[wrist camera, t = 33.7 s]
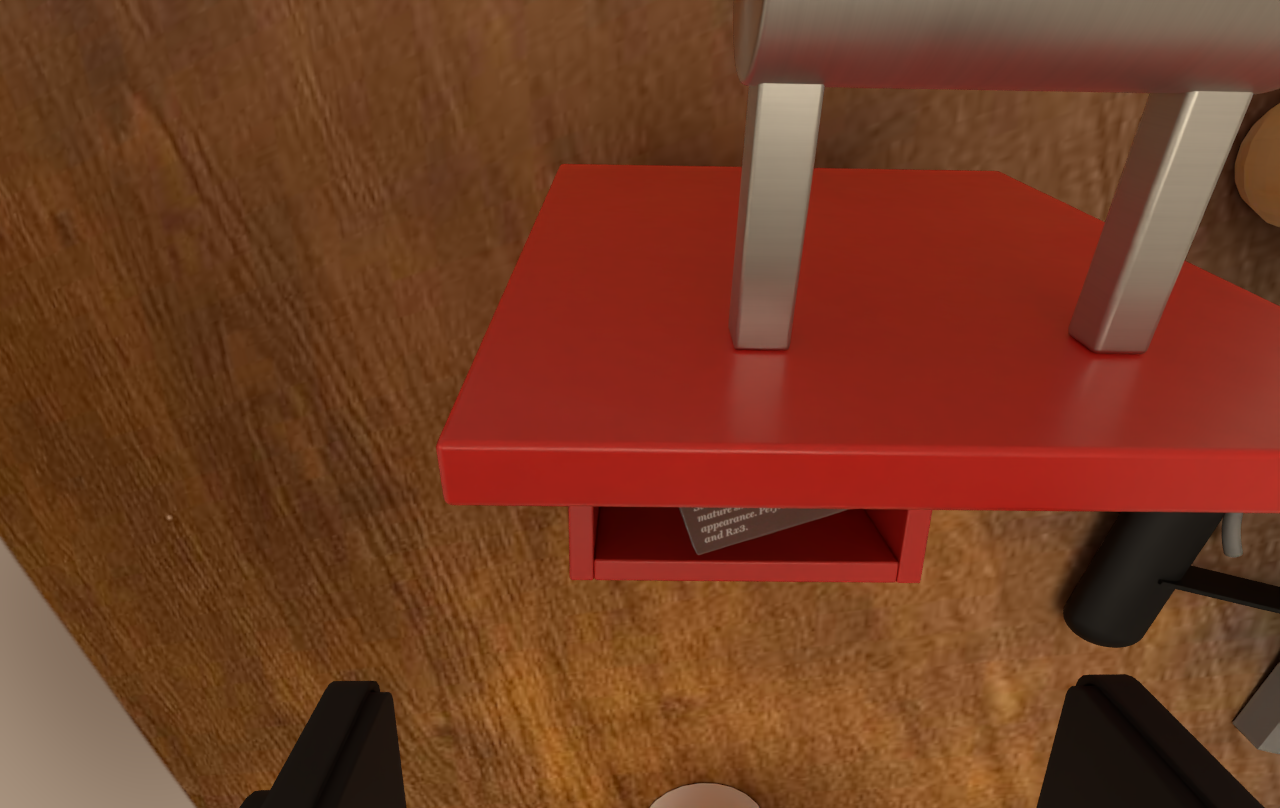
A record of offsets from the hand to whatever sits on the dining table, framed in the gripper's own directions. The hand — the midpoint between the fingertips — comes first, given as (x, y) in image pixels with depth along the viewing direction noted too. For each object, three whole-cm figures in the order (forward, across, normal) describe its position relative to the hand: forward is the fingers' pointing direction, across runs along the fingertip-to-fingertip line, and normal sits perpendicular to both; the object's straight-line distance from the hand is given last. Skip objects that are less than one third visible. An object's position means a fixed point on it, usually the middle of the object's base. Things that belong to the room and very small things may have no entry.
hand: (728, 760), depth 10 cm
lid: (+5, -3, -6) cm, 8 cm away
